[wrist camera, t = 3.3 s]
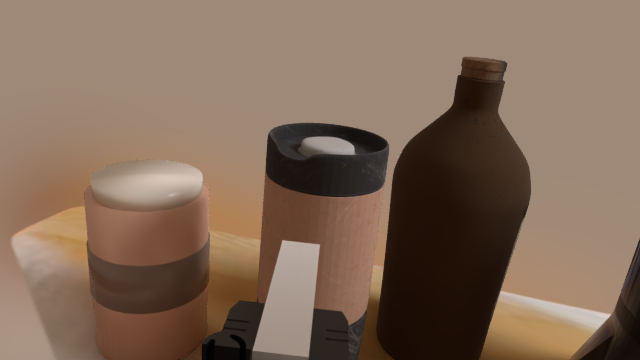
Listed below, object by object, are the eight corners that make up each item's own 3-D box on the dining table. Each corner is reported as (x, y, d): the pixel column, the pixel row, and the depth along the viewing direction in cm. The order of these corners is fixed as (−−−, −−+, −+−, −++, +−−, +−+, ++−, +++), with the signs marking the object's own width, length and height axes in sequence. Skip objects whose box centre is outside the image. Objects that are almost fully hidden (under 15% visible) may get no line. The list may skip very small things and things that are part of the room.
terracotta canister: (189, 290, 46) (189, 154, 42) (223, 346, 39) (228, 190, 34) (87, 314, 42) (74, 162, 37) (105, 383, 34) (91, 206, 30)
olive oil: (381, 381, 37) (436, 60, 29) (361, 302, 47) (398, 47, 39) (508, 384, 38) (598, 75, 30) (462, 306, 48) (520, 58, 40)
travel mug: (340, 355, 40) (370, 124, 33) (365, 431, 33) (410, 158, 26) (249, 360, 38) (261, 119, 31) (255, 442, 31) (272, 153, 24)
